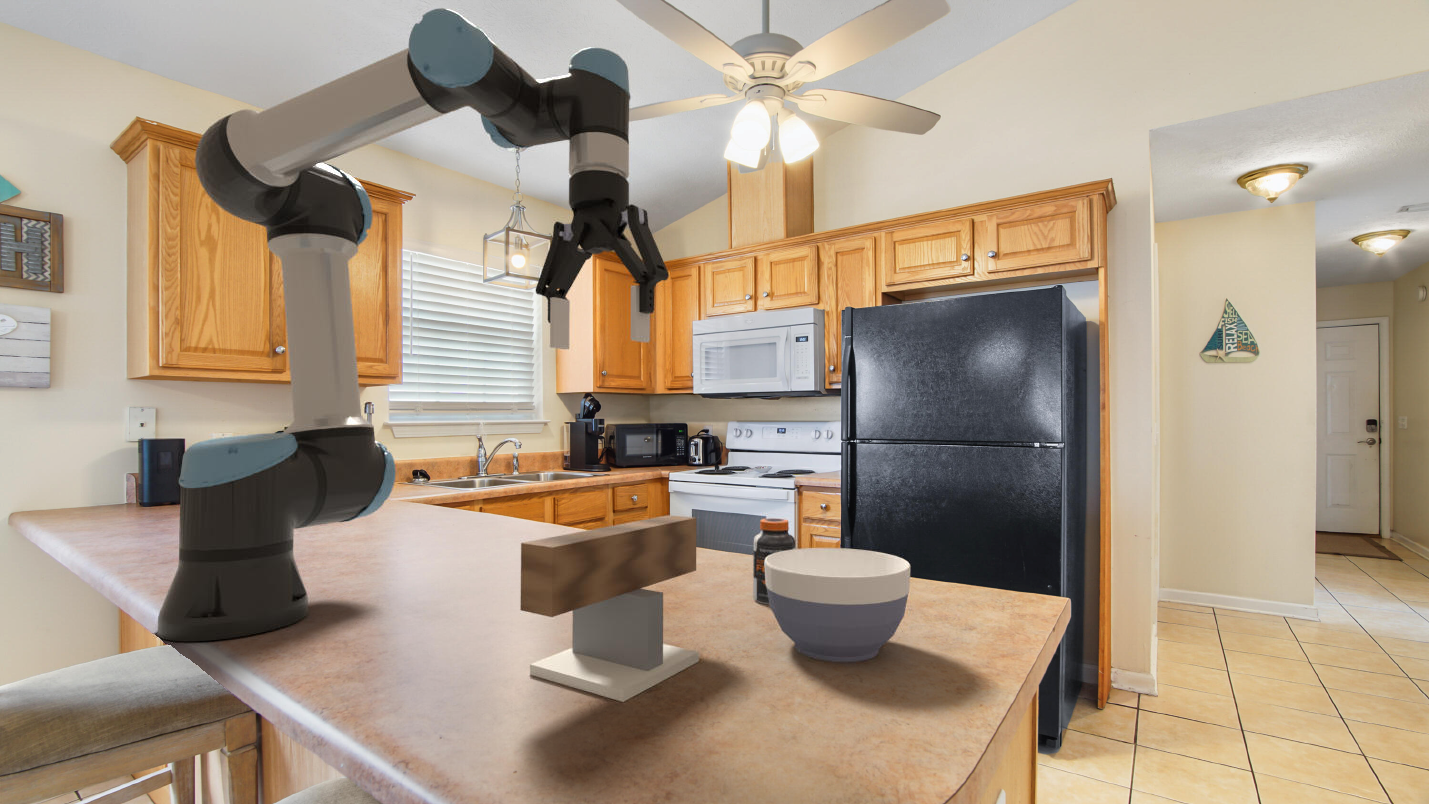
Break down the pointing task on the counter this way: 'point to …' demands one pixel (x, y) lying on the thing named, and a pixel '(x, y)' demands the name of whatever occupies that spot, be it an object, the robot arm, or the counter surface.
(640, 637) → the stand
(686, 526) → the beam
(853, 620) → the bowl
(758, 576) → the pill bottle
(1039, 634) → the counter surface
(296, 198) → the robot arm
